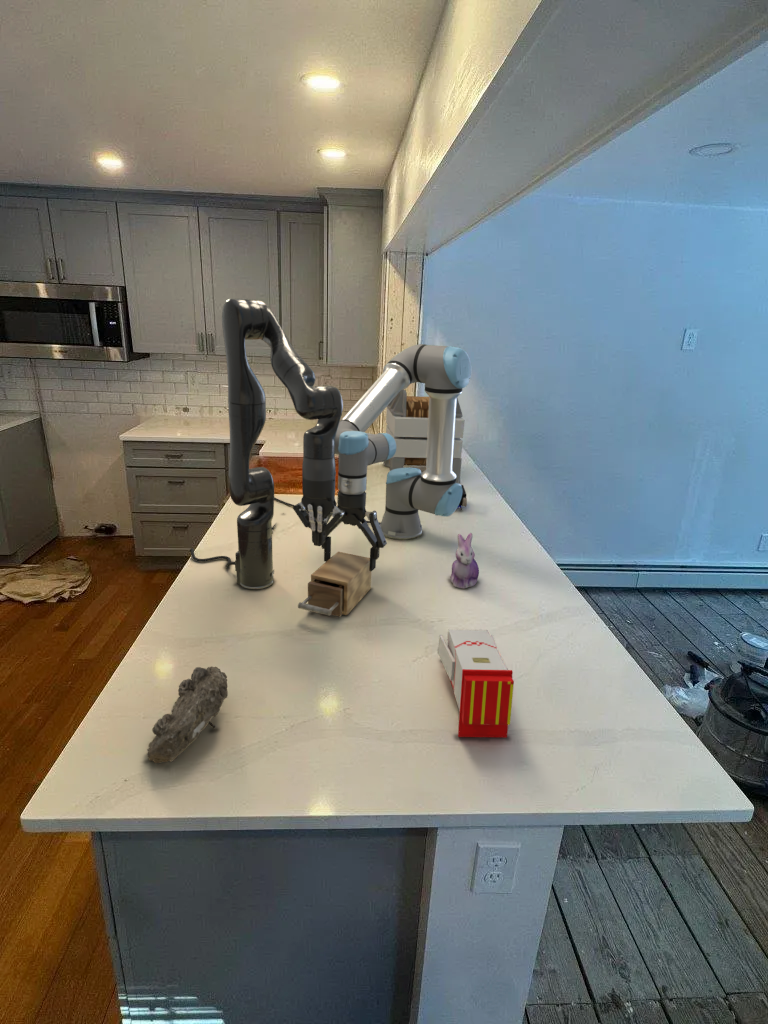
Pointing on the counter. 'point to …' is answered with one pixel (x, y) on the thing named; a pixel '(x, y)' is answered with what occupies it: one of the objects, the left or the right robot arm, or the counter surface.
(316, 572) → the cabinet
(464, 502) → the figurine character
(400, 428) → the grey slatted crate
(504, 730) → the toy
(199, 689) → the fossil
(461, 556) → the figurine
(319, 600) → the drawer
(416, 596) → the counter surface
